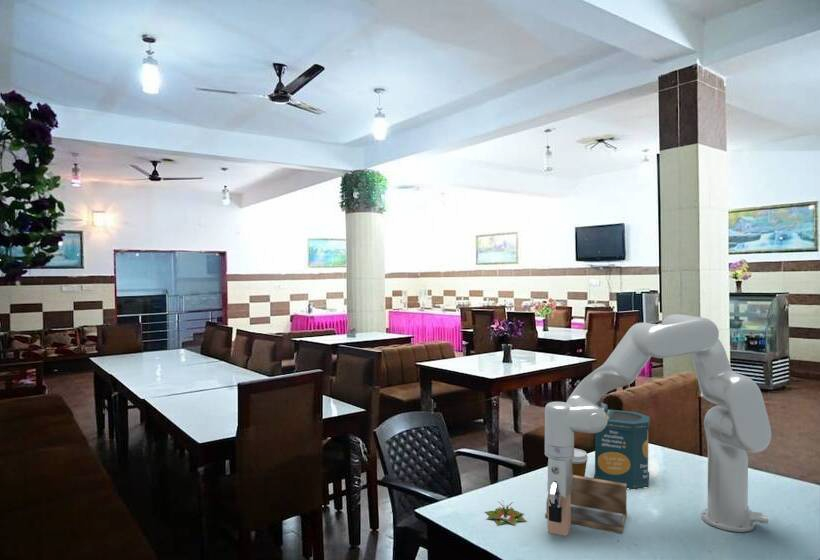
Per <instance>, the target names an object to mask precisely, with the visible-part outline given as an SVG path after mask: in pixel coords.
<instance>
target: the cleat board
mask: <svg viewBox="0 0 820 560" xmlns="http://www.w3.org/2000/svg"><path fill="white" fill-rule="evenodd" d="M627 504H628V503H627V484H625V483H619V482H613V481H607V480H601V479H595V478H594V477H588V476H585V477H583V476H577V475H573V488H572V490H571V525H573V524H574V525H578V526H582V527H586V528H592V529H596V530H603V531H607V532H611V531H612V533H618V534H621V535H622V534H623V531H624V527H625V523H626V518H627V515H628V510H627ZM545 509H546V512H545V516H544V518H545V519H548V499H547V500H546V508H545Z"/></svg>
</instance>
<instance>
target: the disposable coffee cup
mask: <svg viewBox="0 0 820 560" xmlns="http://www.w3.org/2000/svg"><path fill="white" fill-rule="evenodd" d="M588 460H589V456H588V453H587V452H586V451H585V450H583V449H579V448H575V447H574V458H572V473H573V475H577V476H583V477H586V469H587V464H588V463H587V462H588Z"/></svg>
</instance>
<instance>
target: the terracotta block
mask: <svg viewBox="0 0 820 560" xmlns="http://www.w3.org/2000/svg"><path fill="white" fill-rule="evenodd" d="M556 494H559V495H560V493H556ZM549 499H550V495H549V494H548V493H547V500H548V518H547V533H549V534H553V533H554V535H558V534H559V535H558V536H563V535H564V537H568V536H569V533H570V531H571V529H572V527H571V525H572V523H571V492H570V494H569V495H568V497H567V498H564V497H562V498H561V506H560V507H562V522H561V523H558V522H553V521H549ZM556 499H557V501H558V498H556Z"/></svg>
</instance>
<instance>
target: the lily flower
mask: <svg viewBox="0 0 820 560" xmlns="http://www.w3.org/2000/svg"><path fill="white" fill-rule="evenodd" d="M497 502H498V503H499V504H500V505H501V506H499V507H497V508H495V509H494V510H487V511H485V514H488V517H487V518H486V520H491V519H494V520H495V523H496V524H497V526H499V525H502V524H507V523H509V524H510V525H513V526H516V523H517V522H527V520H526V519H525V518H524V517H522V516H520V515H523V513H522V512H520V511H518V510H515V509H514V508H513V507H512V504H513V503H514V502H513V501H511V503H509V504H506V506H505V505H504V504H502V503H501V502H504V500H501V502H500V501H497ZM502 516H503V517H504V518H503V517H502ZM507 517H508V518H507ZM501 520H502V521H501Z"/></svg>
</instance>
